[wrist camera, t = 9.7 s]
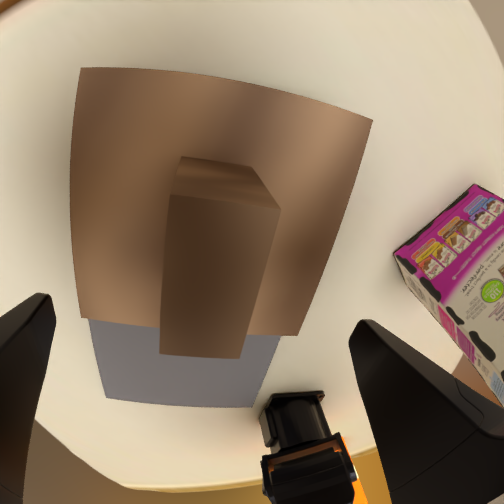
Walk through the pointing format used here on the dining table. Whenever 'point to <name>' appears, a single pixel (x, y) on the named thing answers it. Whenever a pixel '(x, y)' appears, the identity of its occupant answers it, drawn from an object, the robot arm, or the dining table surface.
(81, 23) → the dining table surface
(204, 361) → the mat
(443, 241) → the candy bar box
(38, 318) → the robot arm
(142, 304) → the walnut lid
